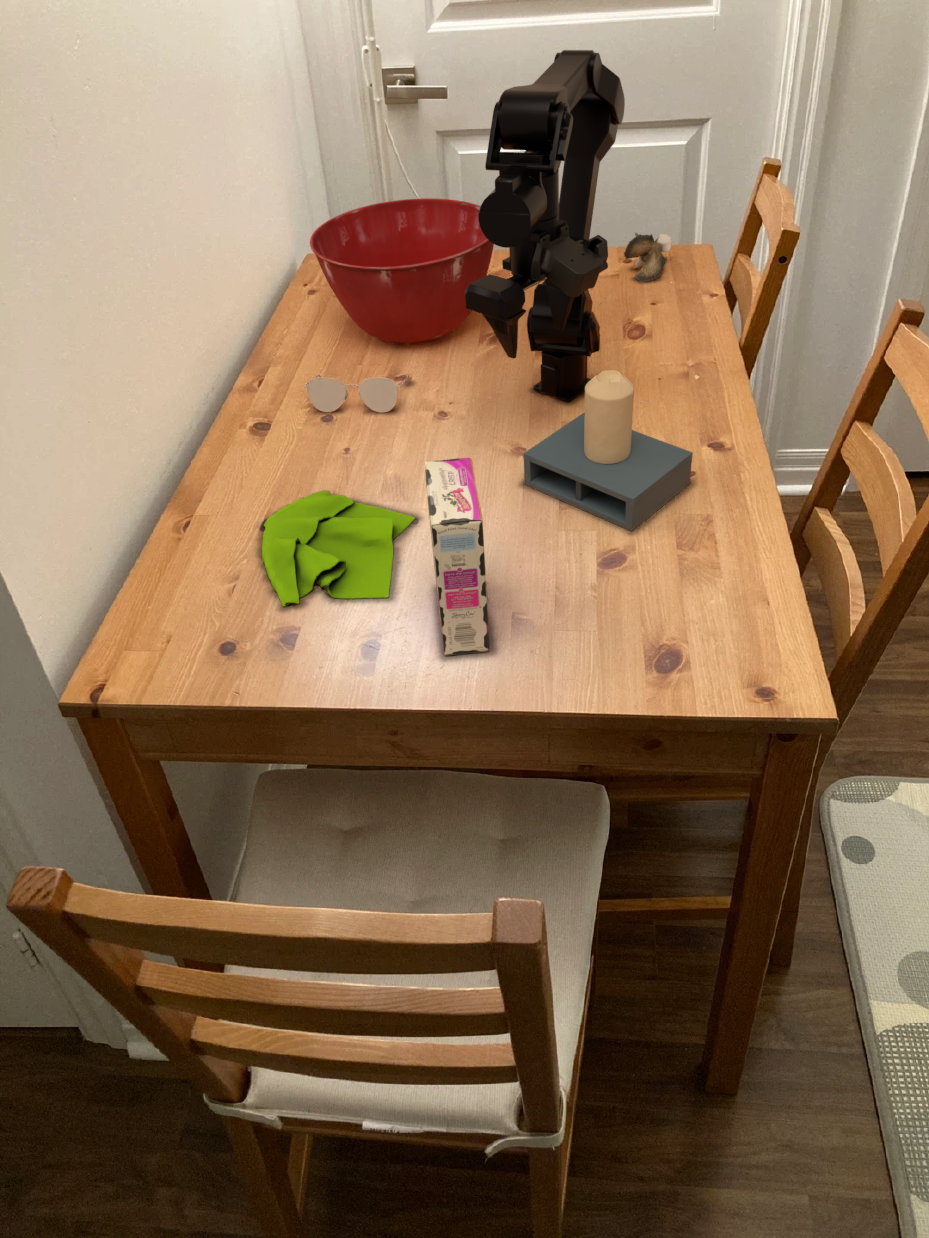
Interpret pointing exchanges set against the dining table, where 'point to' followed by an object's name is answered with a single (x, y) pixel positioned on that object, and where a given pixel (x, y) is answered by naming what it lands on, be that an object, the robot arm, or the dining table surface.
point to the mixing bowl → (404, 265)
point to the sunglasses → (333, 392)
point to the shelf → (608, 475)
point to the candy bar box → (458, 555)
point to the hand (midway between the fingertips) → (536, 343)
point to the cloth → (331, 547)
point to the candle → (608, 417)
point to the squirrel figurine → (648, 255)
